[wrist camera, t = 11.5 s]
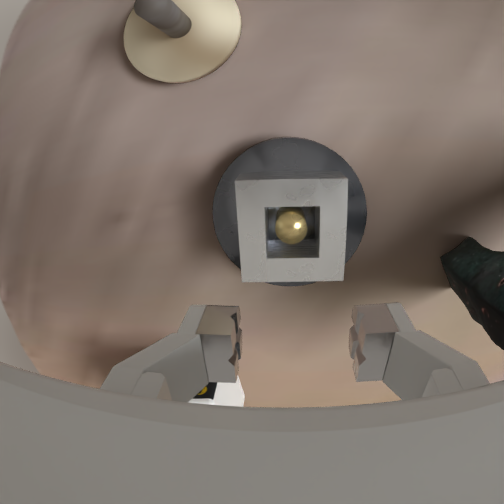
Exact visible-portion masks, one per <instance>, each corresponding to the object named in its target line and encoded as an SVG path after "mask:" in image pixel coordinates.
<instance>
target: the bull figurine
mask: <svg viewBox="0 0 504 504" xmlns="http://www.w3.org/2000/svg"><path fill="white" fill-rule="evenodd" d="M441 261H442V264H443V267H444V270H445V272H446V275H447V277H448V280H449V283H450V285H451V288H452V289H453V290H454V292H455V293H456V294H457V295H458V297H459V298H460V299H461V300H462V302H463V303H464V305H465V306H466V308H467V309H468V311H469V313H470V315H471V317H472V318H473V319H474V320H475V321H476V322H478V323H479V324H481V325H482V326H483V328H484V329H485V331H486V332H487V334H488V335H489V336H490V338H491V340H492V341H493V342H494V343H495V344H496V345H497V346H499V347H500V348H501V349H503V350H504V252H499V251H492V250H490V249H487V248H485V247H483V246H481V245H480V244H479V243H478V242H477V241H476V240H474V239H473V238H471V237H468V238H467V239H465V240H464V241H463V242H462V243H461V244H460V245H459V246H458V247H457V248H455V249H454V250H452V251H451V252H449V253H447V254H445V255H443V256H442V257H441Z"/></svg>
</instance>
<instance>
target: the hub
mask: <svg viewBox="0 0 504 504" xmlns="http://www.w3.org/2000/svg"><path fill="white" fill-rule="evenodd" d="M265 171H340V172H341V173H342V174H343V175H344V176H345V177H346V178H348V202H347V230H346V249H345V263H346V262H347V261H348V260H349V259H350V258H351V257H352V255H353V254H354V252H355V251H356V249H357V247H358V246H359V244H360V242H361V239H362V236H363V234H364V230H365V225H366V217H367V207H366V199H365V194H364V191H363V188H362V185H361V183H360V181H359V179H358V177H357V175H356V174H355V172H354V171H353V169H352V168H351V167H350V165H349V164H348V163H347V162H346V161H345V160H344V159H343V158H342V157H341V156H339V155H338V154H337V153H336V152H334V151H332V150H331V149H329V148H328V147H326V146H324V145H322V144H320V143H317V142H315V141H312V140H308V139H305V138H298V137H281V138H274V139H270V140H266V141H264V142H261V143H259V144H256V145H255V146H253V147H251V148H249V149H248V150H246V151H245V152H244V153H243V154H241V155H240V156H239V157H238V158H236V159H235V160H234V161H233V163H232V164H231V165H230V166H229V167H228V168H227V170H226V171H225V173H224V174H223V176H222V178H221V180H220V182H219V184H218V186H217V189H216V192H215V196H214V201H213V223H214V228H215V232H216V235H217V238H218V240H219V242H220V244H221V246H222V248H223V250H224V251H225V253H226V254H227V256H228V257H229V258H230V259H231V261H232V262H233V263H234V264H235V265H236V266H238V267H239V268H240V269H241V262H240V249H239V235H238V221H237V207H236V192H235V180H236V179H237V177H238V176H239V175H240V174H241V172H265ZM267 209H268V234H269V240H281V241H282V242H284V243H287V244H296V243H298V242H300V241H302V240H303V239H315V206H300V207H267ZM314 282H317V281H306V282H265V283H269V284H273V285H279V286H301V285H306V284H311V283H314Z"/></svg>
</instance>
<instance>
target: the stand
mask: <svg viewBox="0 0 504 504" xmlns="http://www.w3.org/2000/svg"><path fill="white" fill-rule="evenodd" d="M241 28H242V22H241V15H240V12H239V9H238V7H237V4H236V2H235V0H136V1H135V4H134V8H133V10H132V11H131V13H130V15H129V17H128V19H127V22H126V25H125V30H124V47H125V51H126V54H127V56H128V59H129V60H130V62H131V63H132V65H133V66H134V67H135V68H136V69H137V70H138V71H140V72H141V73H142V74H144V75H146V76H147V77H150V78H152V79H155V80H159V81H163V82H168V83H185V82H190V81H195V80H197V79H200V78H203V77H205V76H207V75H209V74H211V73H212V72H214V71H215V70H217V69H218V68H219V67H220V66H222V65H223V64H224V63H225V62H226V61H227V60H228V58H229V57H230V56H231V54H232V53H233V51H234V50H235V48H236V46H237V44H238V41H239V38H240V35H241Z"/></svg>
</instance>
